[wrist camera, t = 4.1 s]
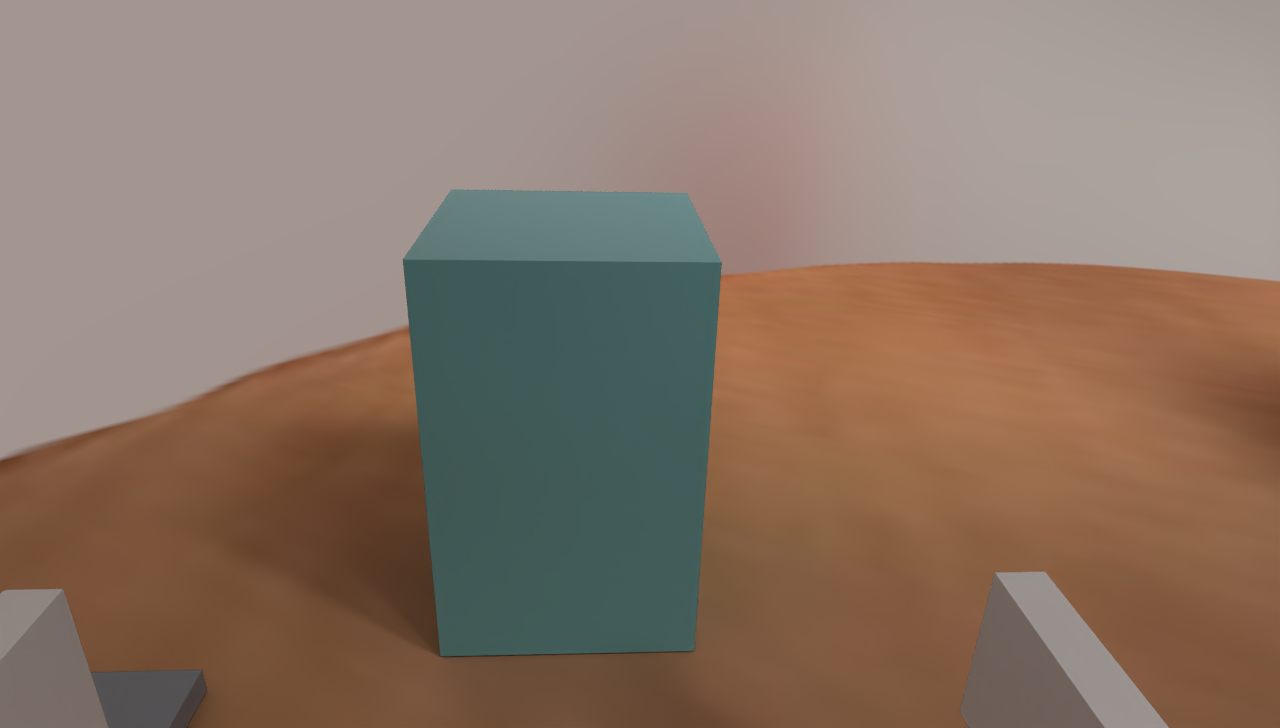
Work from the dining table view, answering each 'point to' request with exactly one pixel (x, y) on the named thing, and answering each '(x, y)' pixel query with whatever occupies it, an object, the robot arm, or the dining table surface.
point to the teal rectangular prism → (564, 417)
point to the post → (149, 697)
